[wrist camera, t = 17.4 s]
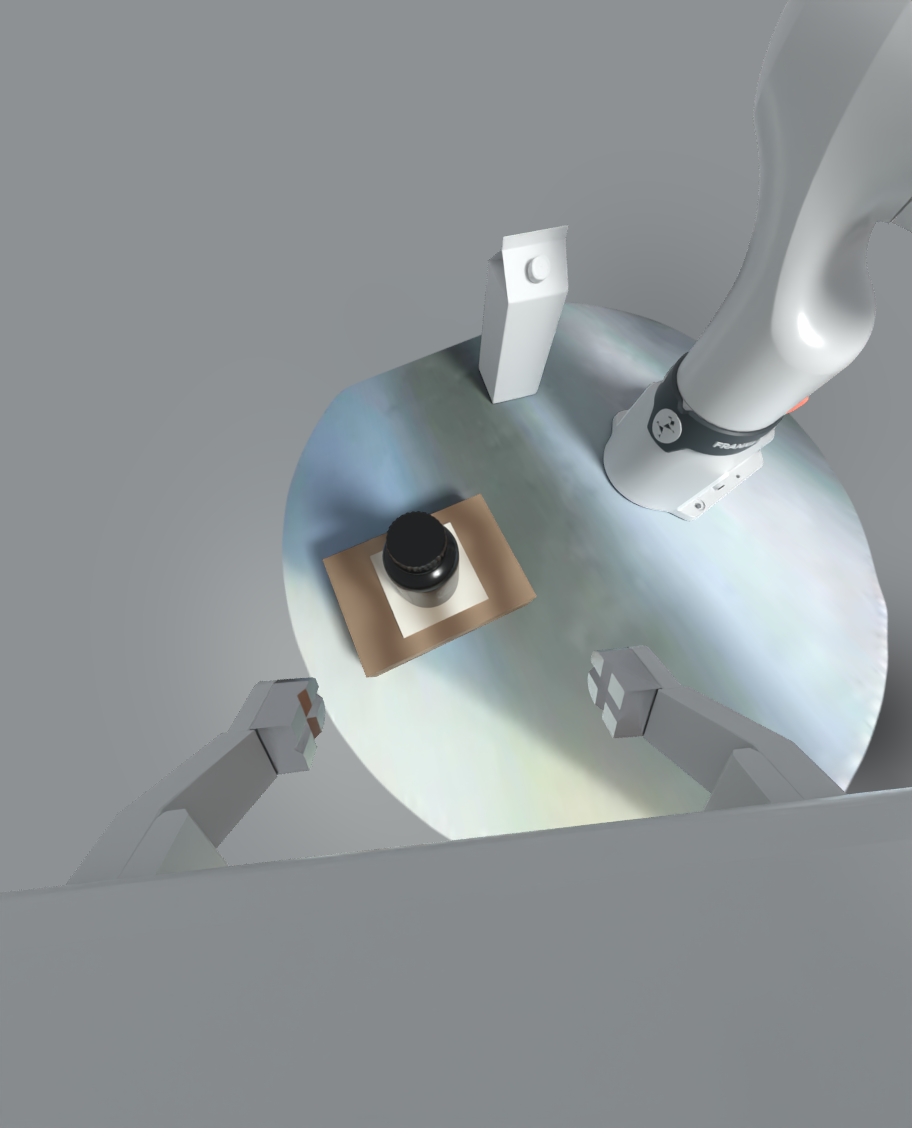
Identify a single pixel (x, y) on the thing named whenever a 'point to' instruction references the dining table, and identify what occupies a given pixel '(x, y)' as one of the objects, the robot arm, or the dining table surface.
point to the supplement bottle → (422, 559)
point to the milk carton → (522, 311)
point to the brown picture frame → (408, 631)
